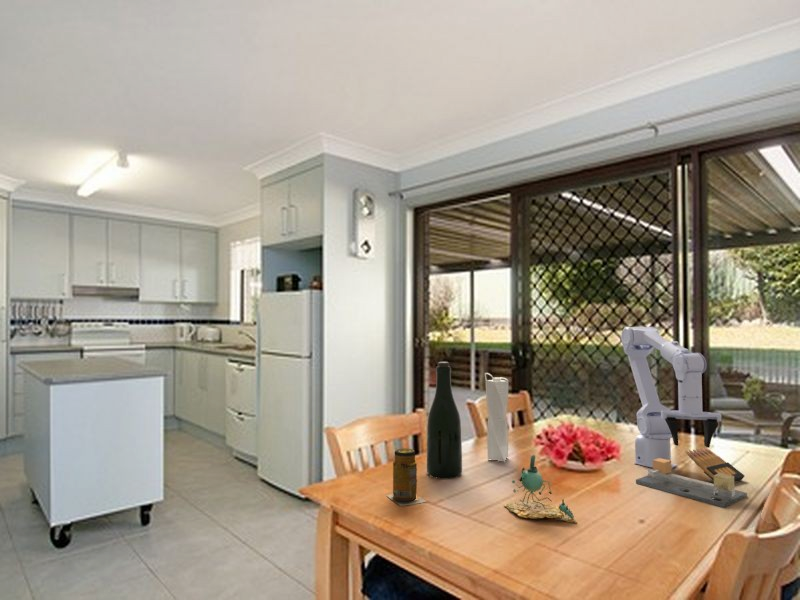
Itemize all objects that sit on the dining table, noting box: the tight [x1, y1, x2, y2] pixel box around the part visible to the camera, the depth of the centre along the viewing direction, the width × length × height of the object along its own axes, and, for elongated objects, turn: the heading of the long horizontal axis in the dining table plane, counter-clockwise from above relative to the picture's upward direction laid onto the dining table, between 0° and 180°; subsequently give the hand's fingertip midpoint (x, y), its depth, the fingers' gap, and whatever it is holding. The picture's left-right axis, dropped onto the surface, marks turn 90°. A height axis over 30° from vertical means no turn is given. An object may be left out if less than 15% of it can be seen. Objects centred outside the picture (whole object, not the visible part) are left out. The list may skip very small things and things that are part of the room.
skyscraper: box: [484, 372, 509, 462], centre depth 161 cm, size 8×8×28 cm
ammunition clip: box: [685, 446, 745, 483], centre depth 140 cm, size 11×2×12 cm
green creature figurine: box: [503, 454, 578, 523], centre depth 115 cm, size 10×18×15 cm, turn 43°
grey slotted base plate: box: [635, 468, 748, 508], centre depth 131 cm, size 22×13×6 cm, turn 35°
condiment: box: [385, 447, 427, 507], centre depth 125 cm, size 7×8×12 cm
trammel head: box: [651, 458, 673, 479], centre depth 136 cm, size 3×7×4 cm, turn 124°
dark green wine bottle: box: [426, 361, 463, 479], centre depth 146 cm, size 10×10×33 cm
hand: (691, 445), depth 137 cm, fingers open, 7 cm apart
